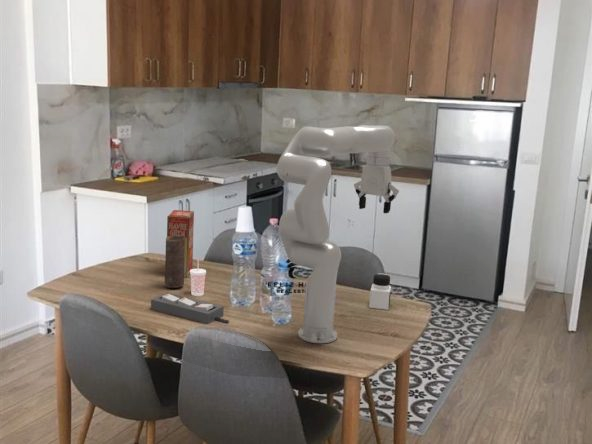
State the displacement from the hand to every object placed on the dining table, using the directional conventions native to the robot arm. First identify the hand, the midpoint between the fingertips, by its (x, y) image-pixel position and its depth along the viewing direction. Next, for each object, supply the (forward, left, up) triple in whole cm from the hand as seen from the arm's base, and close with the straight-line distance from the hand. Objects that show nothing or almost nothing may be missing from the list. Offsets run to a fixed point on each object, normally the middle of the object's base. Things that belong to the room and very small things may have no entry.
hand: (374, 210), depth 225 cm
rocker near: (-16, +56, -34) cm, 67 cm away
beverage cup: (+7, +63, -37) cm, 73 cm away
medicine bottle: (+6, -5, -37) cm, 38 cm away
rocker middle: (-13, +63, -34) cm, 72 cm away
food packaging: (+32, +75, -37) cm, 89 cm away
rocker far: (-10, +69, -34) cm, 77 cm away
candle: (+13, +73, -37) cm, 83 cm away
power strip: (-14, +60, -37) cm, 72 cm away
